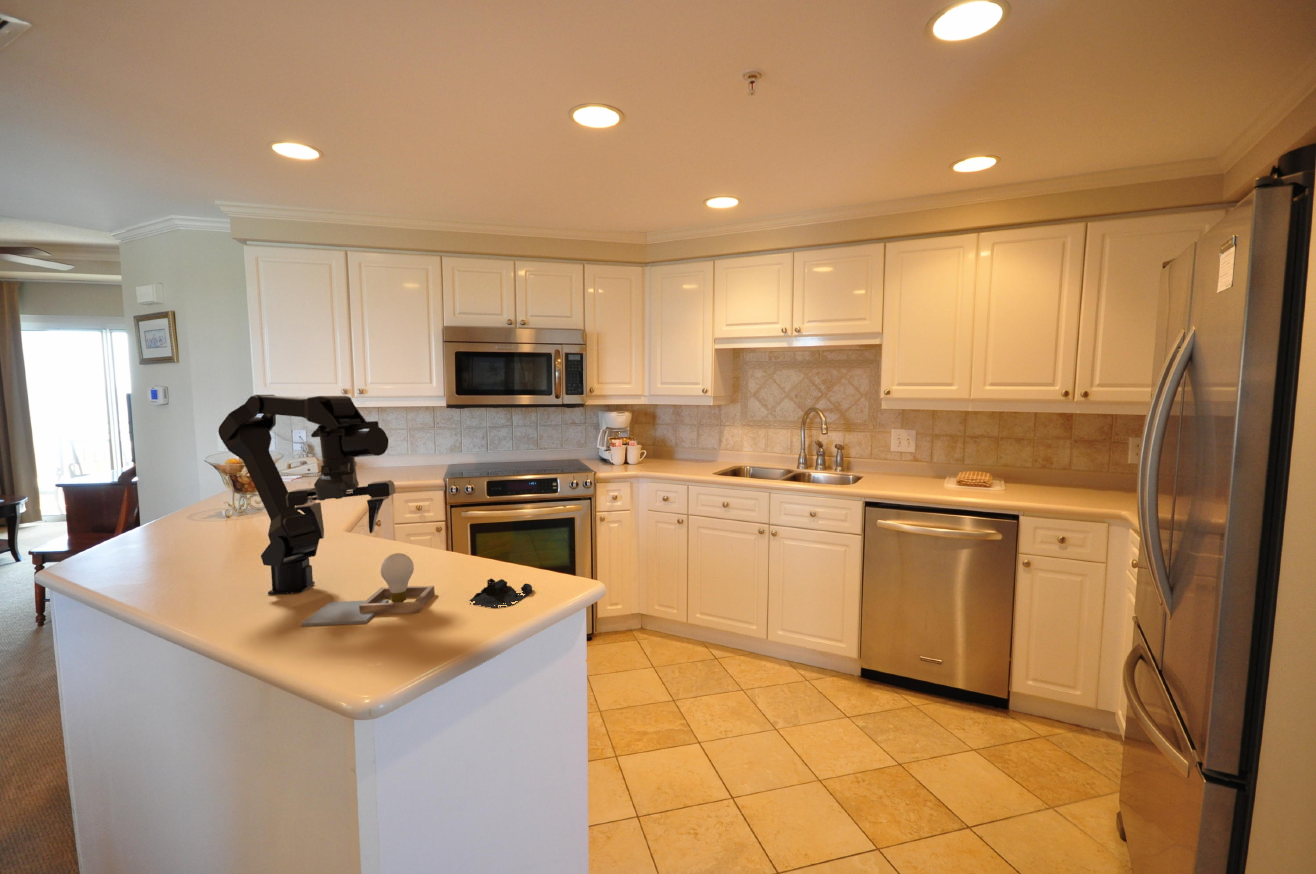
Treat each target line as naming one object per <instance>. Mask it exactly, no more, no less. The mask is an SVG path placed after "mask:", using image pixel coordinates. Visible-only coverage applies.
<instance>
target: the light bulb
mask: <svg viewBox="0 0 1316 874" xmlns="http://www.w3.org/2000/svg"><path fill="white" fill-rule="evenodd" d="M414 567H415V565H414V562H413V560H412V559H411V557H410V556H408V555H407V554H405V553H400V552H399V553H398V552H397V553H393V554H392V553H391V554H390V555H388V556H387V557H385V558H384V560H383V561H382V563H381V565H380V574H381V577H382V579H383V580H384V582H386V585H387V587H389V590H390V592H391V597H390V599H391V603H396V602H406V600H407V597H406V589H407V587H408V586H409V582H410V579H411V578H412V575H413V574H414V572H415V571H414V570H415V568H414Z"/></svg>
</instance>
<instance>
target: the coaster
mask: <svg viewBox="0 0 1316 874" xmlns="http://www.w3.org/2000/svg"><path fill="white" fill-rule="evenodd" d="M364 601H365V600H344V601H342V600H341V601H329V602H328V603H327V604H325V605H324V606H323V607H321V608H320V609H318V610H317V611H316V612H315V613H313V614H312V615H310V616H309V617H308V618H306V619H305V620H304V621H302V622H301V624H300V625H301V627H311V626H312V627H315V626H317V627H318V626H334V625H335V626H336V625H338V626H339V625H356V624H357V625H359V624H360V625H361V624H367V623H368V622H369V621H370V620H371V619H372V618H373V617H374V616H375V612H363V613H360V611H359V606H360V605H361V604H362V603H363V602H364ZM376 603H390V600H389V599H383V600H379V601H378V602H376Z"/></svg>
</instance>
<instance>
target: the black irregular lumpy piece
mask: <svg viewBox="0 0 1316 874" xmlns="http://www.w3.org/2000/svg"><path fill="white" fill-rule="evenodd" d="M486 584H487V585H486V587H485V586H484V587H483V588H482V589H481V590H480V592H477V593H475V595H474V596H473V597H471V598H470V599H469V600H468V601H471V602H473V601H475V603H473V605H472V606H476V605H481V606H480V607H482V606H485V607H484V608H487V607H491V608H490V609H499V608H498V605H507V606H509V607H512V606H515V605H516V603H517V604H518V603H520V602H521V601H523V600H524V599H525V598H527V597H528V596H530V595H531V594H532V593H533V586H532V585H531V584H530V583H523V584H522V586H521V587H520V588H521V589H520V590H521V591H523V592H522V593H523V594H525V595H524V596H523V595H520V594H521V593H516V591H517V590H515V589H514V587H513V586H511V585H508V581H505V580H504V579H502V578H501V579H499V580H494V579H493V578H492V577H491V578H489V579H487V581H486ZM512 587H513V588H512ZM518 594H519V595H518ZM529 594H530V595H529ZM526 596H527V597H526ZM523 598H524V599H523ZM522 599H523V600H522ZM515 601H518V602H516V603H515V604H512V603H511V602H515ZM519 601H520V602H519ZM503 603H504V604H503ZM505 603H506V604H505ZM469 605H471V603H470V604H469ZM494 605H495V606H494ZM511 605H512V606H511ZM499 607H500V606H499ZM501 607H504V608H507V607H506V606H501Z"/></svg>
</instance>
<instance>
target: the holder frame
mask: <svg viewBox="0 0 1316 874" xmlns="http://www.w3.org/2000/svg"><path fill="white" fill-rule="evenodd" d="M435 594H436V593H435V585H433V584H432V585H415V586H414V585H412V586H411V585H410V586H409V585H408V586H407V589H406V598H409V597H410V598H411V597H417V598H416V599H415V600H414V601H404V602H396V603H393V602H388V603H376V602H378V601H379V600H385V598H388V599H389V598H390V599H391V592H390V590H389V587H388V586H387V587H385V586H384V587H383V586H382V587H380V588H378V590H376V591H375V592H374V593H373V594H372V595H370V596H369V597H368V598H367V599H365V600H363V601H364V602H363V603H362V604H361V605H360V606H359V611H360V613H363V612H375V615H377V616H378V615H398V614H399V615H400V614H401V615H402V614H418V613H420V612H421V610H422V609H423V608H424V607H425V606H426V605H427V604H428V602H429V601H430V600H431V599H432V598H433V597H434V596H435ZM375 615H374V616H375Z"/></svg>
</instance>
